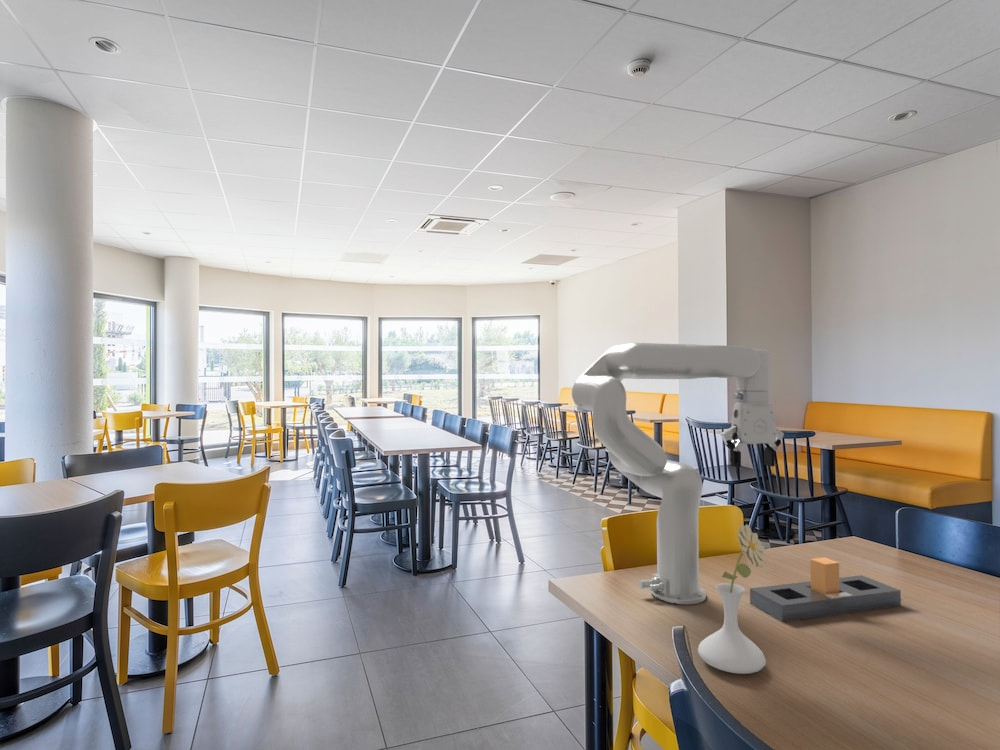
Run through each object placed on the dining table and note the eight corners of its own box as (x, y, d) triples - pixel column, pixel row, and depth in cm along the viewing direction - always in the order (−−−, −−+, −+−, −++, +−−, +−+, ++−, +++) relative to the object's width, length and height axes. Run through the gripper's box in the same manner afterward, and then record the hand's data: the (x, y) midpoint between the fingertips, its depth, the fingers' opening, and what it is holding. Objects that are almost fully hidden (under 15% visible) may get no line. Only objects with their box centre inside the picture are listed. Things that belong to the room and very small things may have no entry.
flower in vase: (732, 687, 93) (730, 537, 94) (684, 656, 104) (683, 522, 104) (787, 670, 99) (786, 529, 99) (736, 642, 109) (735, 515, 109)
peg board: (782, 622, 118) (782, 604, 118) (750, 603, 128) (749, 587, 128) (900, 605, 126) (900, 589, 126) (861, 589, 136) (861, 574, 136)
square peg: (825, 609, 125) (825, 564, 125) (810, 602, 128) (810, 559, 129) (839, 607, 126) (839, 562, 126) (824, 600, 130) (824, 557, 130)
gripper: (731, 398, 135) (731, 469, 135) (793, 398, 139) (792, 467, 138) (713, 397, 142) (713, 464, 142) (772, 397, 146) (771, 463, 146)
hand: (752, 466), depth 140 cm, fingers open, 9 cm apart
